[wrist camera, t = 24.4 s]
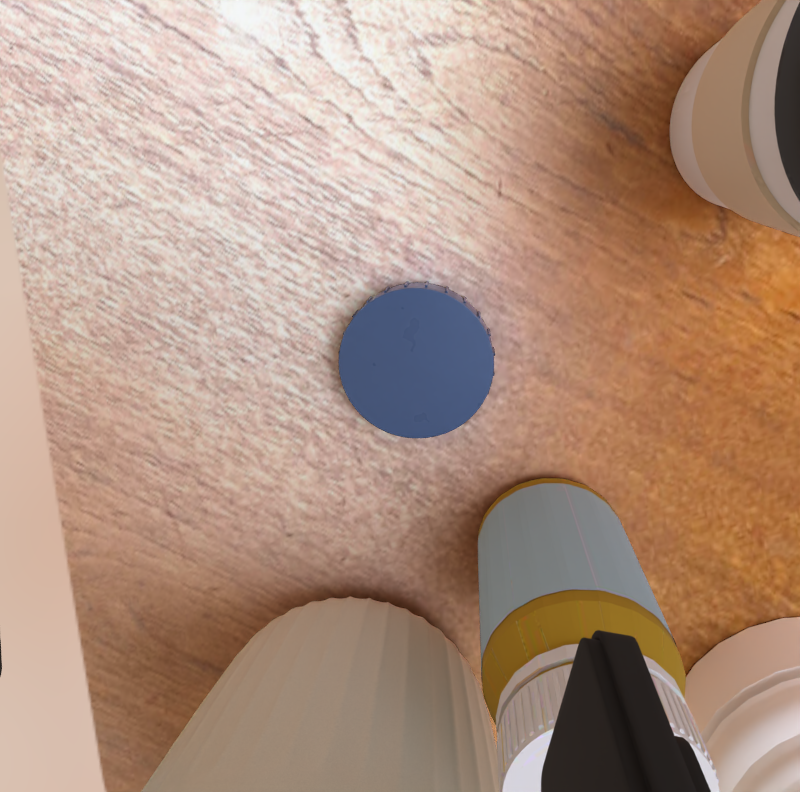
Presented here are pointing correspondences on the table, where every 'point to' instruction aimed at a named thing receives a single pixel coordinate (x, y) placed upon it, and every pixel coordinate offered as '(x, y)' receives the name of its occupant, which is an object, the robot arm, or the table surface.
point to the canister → (339, 710)
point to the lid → (416, 360)
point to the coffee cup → (745, 119)
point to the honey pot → (751, 707)
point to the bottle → (562, 617)
